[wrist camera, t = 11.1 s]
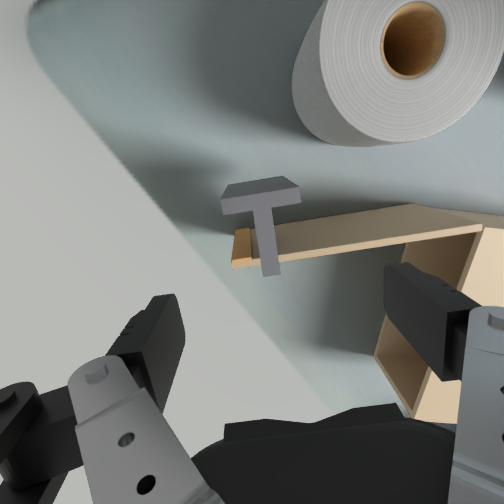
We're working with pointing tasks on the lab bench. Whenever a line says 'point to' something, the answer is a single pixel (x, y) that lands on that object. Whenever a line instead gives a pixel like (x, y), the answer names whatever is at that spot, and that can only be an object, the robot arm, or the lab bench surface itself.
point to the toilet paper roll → (394, 67)
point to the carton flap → (324, 226)
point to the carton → (463, 279)
